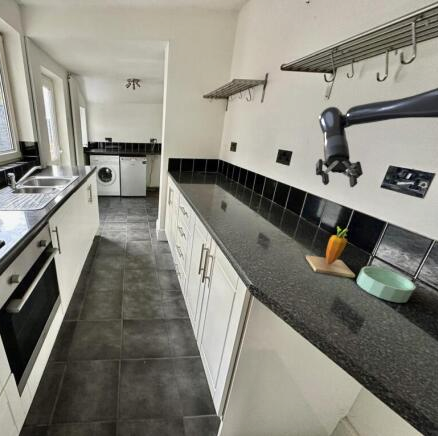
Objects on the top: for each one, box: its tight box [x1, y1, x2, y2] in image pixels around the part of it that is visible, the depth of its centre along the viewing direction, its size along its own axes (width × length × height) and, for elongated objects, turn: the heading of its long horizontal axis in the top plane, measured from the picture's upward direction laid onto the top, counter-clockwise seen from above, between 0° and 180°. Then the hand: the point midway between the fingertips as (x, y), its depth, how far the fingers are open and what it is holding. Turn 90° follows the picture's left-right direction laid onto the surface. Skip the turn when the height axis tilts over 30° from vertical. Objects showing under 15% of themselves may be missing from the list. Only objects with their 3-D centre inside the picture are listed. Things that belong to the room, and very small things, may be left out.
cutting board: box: [305, 254, 356, 279], centre depth 86 cm, size 12×10×1 cm
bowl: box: [356, 265, 417, 304], centre depth 74 cm, size 12×12×5 cm
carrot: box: [325, 226, 349, 264], centre depth 83 cm, size 5×5×15 cm
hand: (339, 184), depth 86 cm, fingers open, 8 cm apart
